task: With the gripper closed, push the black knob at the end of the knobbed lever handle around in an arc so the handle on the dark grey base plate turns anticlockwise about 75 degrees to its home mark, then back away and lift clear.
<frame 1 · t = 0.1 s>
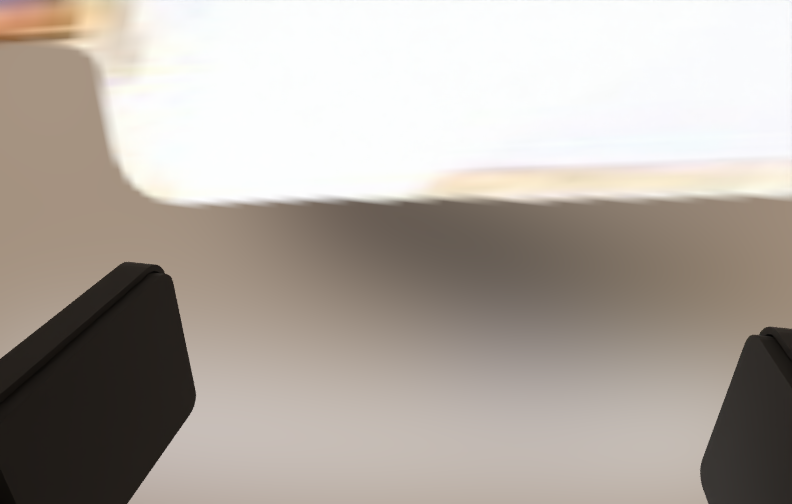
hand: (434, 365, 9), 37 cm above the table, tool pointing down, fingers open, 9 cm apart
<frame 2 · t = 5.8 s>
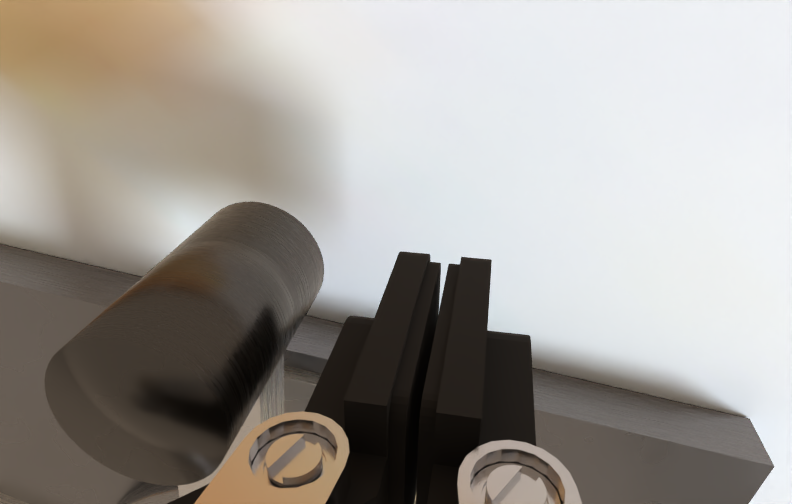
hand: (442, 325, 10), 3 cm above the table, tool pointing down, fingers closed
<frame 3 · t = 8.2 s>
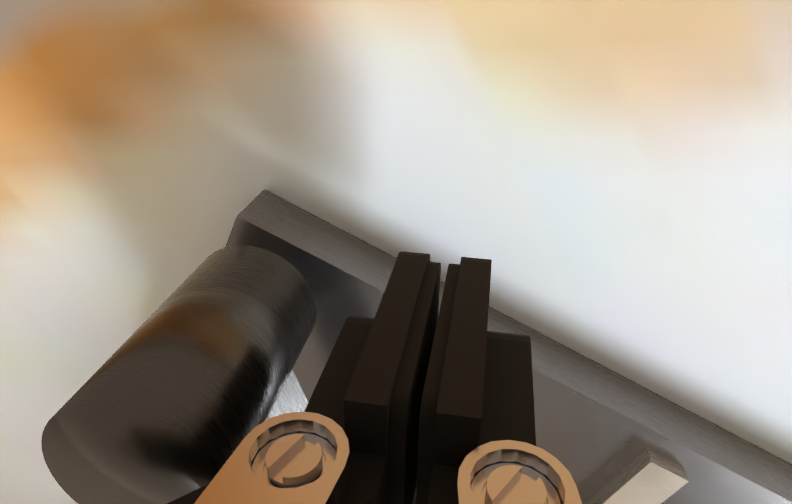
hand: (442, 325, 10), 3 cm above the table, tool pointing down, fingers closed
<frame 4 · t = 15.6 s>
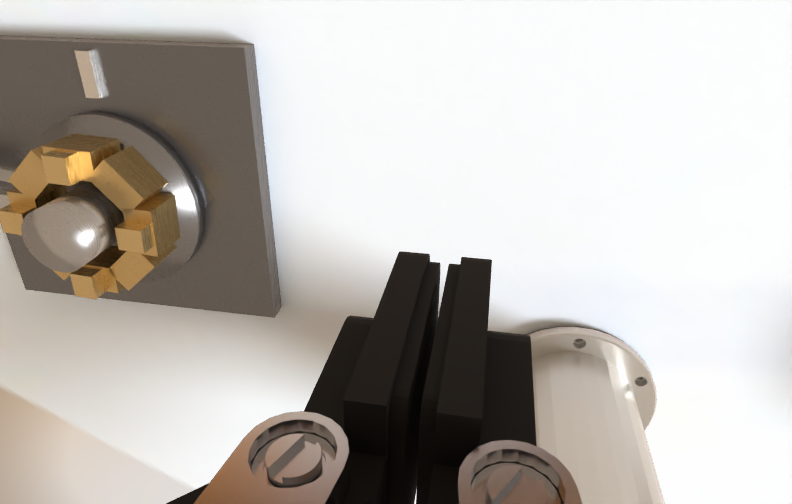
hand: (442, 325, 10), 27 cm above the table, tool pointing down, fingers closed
knobbed lever handle: (26, 208, 39), point 5 cm above the table, hinge at 86.8°
base plate: (133, 192, 43), on the table
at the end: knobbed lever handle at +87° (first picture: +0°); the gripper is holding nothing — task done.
